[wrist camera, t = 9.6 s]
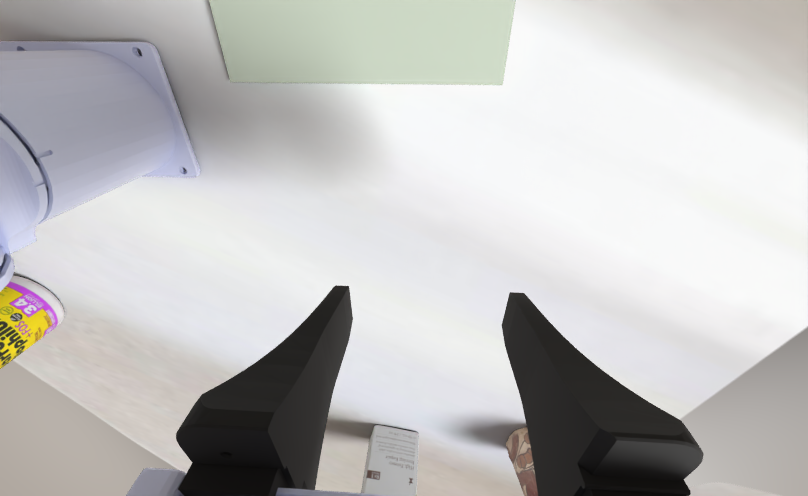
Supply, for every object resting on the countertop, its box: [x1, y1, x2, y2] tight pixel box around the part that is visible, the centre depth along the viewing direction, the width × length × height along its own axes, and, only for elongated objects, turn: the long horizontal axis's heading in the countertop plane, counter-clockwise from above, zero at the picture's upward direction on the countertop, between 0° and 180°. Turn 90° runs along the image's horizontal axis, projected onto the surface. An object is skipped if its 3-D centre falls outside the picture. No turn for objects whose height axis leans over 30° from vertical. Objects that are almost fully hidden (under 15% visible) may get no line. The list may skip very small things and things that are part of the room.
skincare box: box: [361, 425, 419, 496], centre depth 36 cm, size 6×4×12 cm
